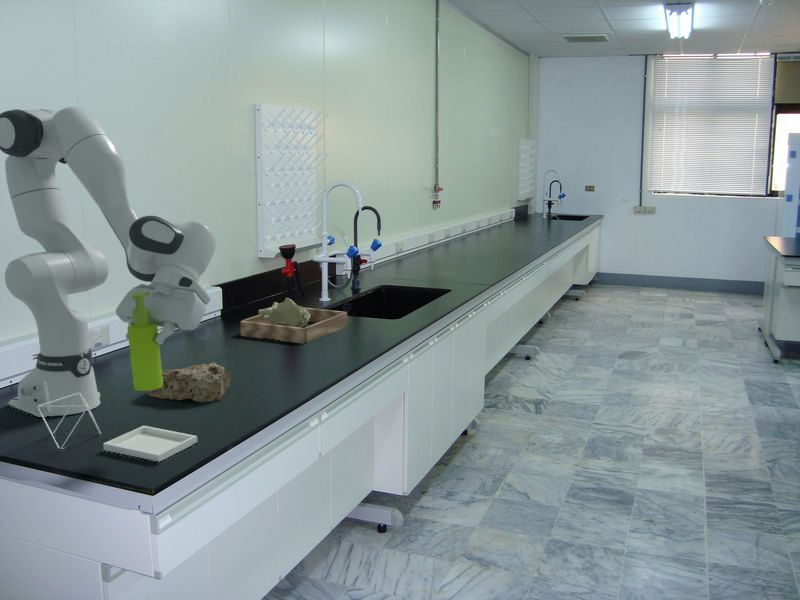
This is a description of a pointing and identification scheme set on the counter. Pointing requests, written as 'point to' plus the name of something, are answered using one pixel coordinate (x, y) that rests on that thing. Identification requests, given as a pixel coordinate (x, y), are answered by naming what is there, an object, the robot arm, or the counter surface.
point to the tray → (150, 443)
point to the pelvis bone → (286, 314)
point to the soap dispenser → (144, 348)
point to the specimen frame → (323, 325)
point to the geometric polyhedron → (66, 413)
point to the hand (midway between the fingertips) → (143, 341)
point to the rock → (194, 383)
